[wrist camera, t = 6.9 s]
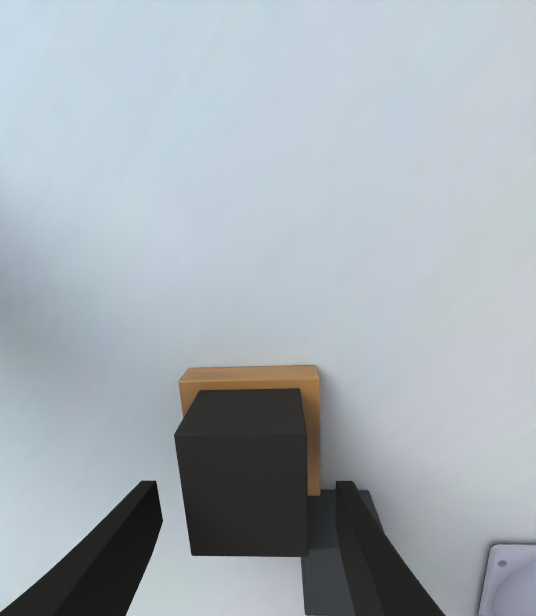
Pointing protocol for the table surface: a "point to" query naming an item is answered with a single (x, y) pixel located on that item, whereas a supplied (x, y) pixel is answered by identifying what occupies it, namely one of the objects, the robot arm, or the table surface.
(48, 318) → the table surface
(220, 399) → the black block
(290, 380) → the cork pad
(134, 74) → the table surface
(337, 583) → the slate block
